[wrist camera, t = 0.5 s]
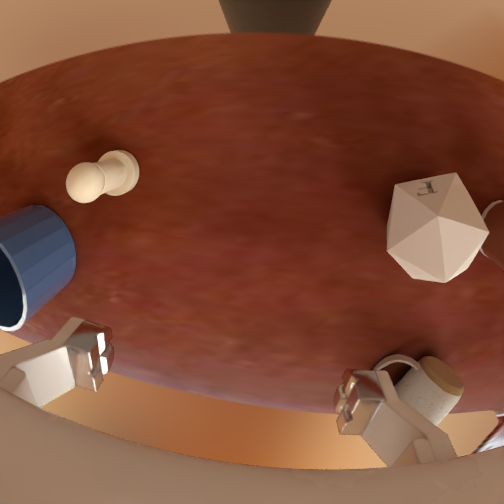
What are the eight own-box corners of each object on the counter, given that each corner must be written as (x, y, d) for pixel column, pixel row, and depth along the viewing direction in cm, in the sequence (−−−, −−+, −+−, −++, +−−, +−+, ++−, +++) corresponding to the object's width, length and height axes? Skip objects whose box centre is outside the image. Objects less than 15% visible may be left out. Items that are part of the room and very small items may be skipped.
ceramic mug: (452, 360, 32) (478, 400, 25) (413, 405, 35) (430, 447, 28) (394, 335, 31) (417, 381, 24) (352, 387, 34) (364, 436, 27)
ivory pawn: (104, 146, 26) (56, 154, 19) (143, 153, 26) (102, 162, 19) (98, 188, 27) (51, 207, 20) (135, 197, 27) (94, 219, 20)
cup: (11, 196, 28) (-45, 219, 19) (78, 214, 28) (22, 244, 20) (13, 276, 31) (-32, 310, 23) (76, 300, 32) (33, 346, 23)
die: (461, 185, 26) (475, 144, 17) (479, 276, 25) (504, 272, 16) (384, 200, 30) (367, 166, 22) (398, 290, 29) (388, 292, 20)
